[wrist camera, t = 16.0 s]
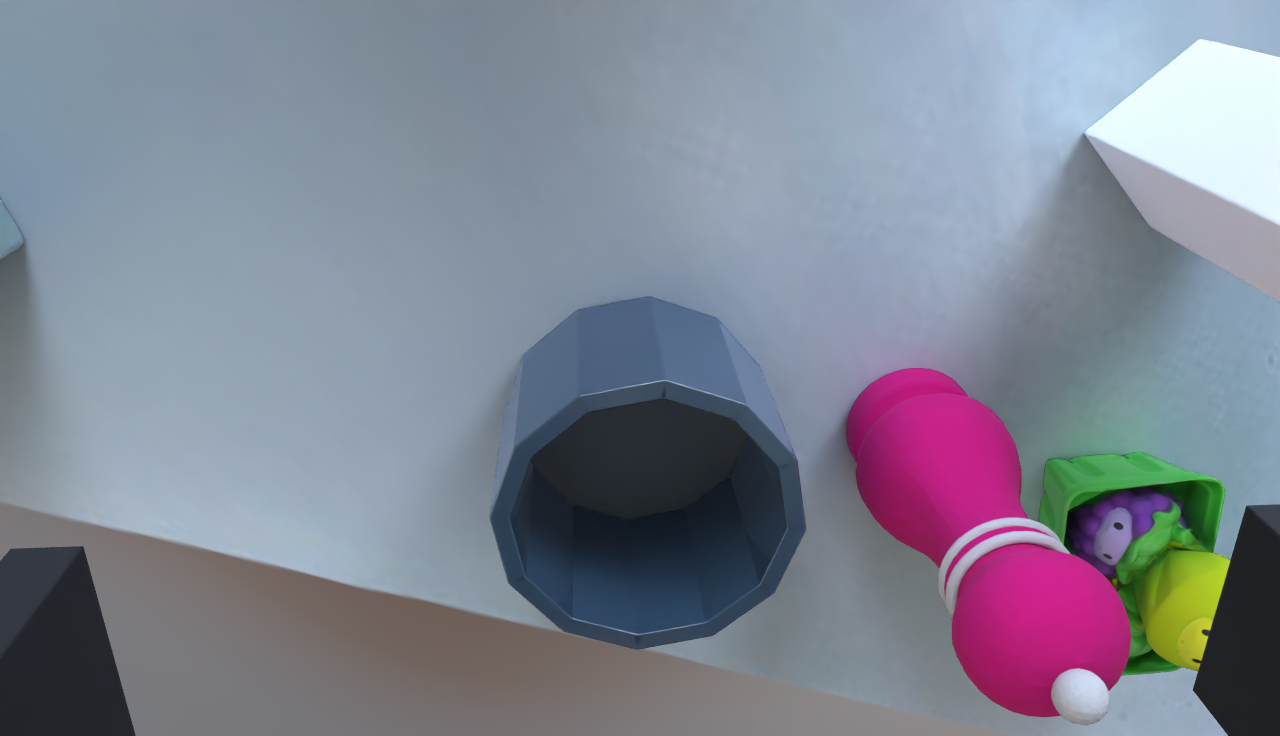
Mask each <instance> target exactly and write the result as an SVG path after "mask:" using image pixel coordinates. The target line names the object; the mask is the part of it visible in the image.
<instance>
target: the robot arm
mask: <svg viewBox="0 0 1280 736" xmlns="http://www.w3.org/2000/svg"><path fill="white" fill-rule="evenodd" d="M1193 691H1194V692H1195V693H1196V695H1197V696H1198V697H1199V699H1200V700H1201V701H1202V702H1203V704H1204V705H1205V706H1206V708H1207V709H1208V710H1209V711H1210V713H1211V714H1212V715H1213V717H1214V718H1215V719H1216V720H1217V722H1218V723H1219V724H1220V726H1221V727H1222V728H1223V729H1224V731H1225V732H1226V733H1227V735H1228V736H1280V505H1253V506H1246V509H1245V513H1244V516H1243V519H1242V523H1241V526H1240V530H1239V533H1238V537H1237V540H1236V543H1235V547H1234V550H1233V554H1232V557H1231V561H1230V564H1229V567H1228V571H1227V574H1226V578H1225V581H1224V585H1223V588H1222V591H1221V595H1220V598H1219V602H1218V605H1217V609H1216V612H1215V616H1214V619H1213V622H1212V626H1211V629H1210V633H1209V636H1208V640H1207V643H1206V646H1205V650H1204V653H1203V657H1202V660H1201V664H1200V667H1199V670H1198V674H1197V677H1196V681H1195V684H1194V688H1193ZM0 736H135V732H134V728H133V725H132V721H131V718H130V714H129V711H128V707H127V703H126V700H125V696H124V692H123V689H122V685H121V681H120V678H119V674H118V671H117V667H116V664H115V660H114V656H113V652H112V649H111V645H110V642H109V638H108V634H107V631H106V627H105V623H104V620H103V617H102V613H101V609H100V605H99V602H98V598H97V594H96V591H95V587H94V584H93V580H92V576H91V573H90V569H89V565H88V562H87V558H86V555H85V551H84V548H83V546H80V547H51V548H24V549H10V551H9V552H8V553H7V554H6V555H5V556H4V557H3V559H2V560H1V561H0Z"/></svg>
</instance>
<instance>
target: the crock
mask: <svg viewBox="0 0 1280 736" xmlns="http://www.w3.org/2000/svg"><path fill="white" fill-rule="evenodd" d="M663 398H664V399H667V400H671V401H674V402H677V403H681V404H684V405H687V406H691V407H694V408H697V409H701V410H704V411H707V412H711V413H714V414H717V415H721V416H724V417H727V418H731V419H734V420H735V422H736V423H737V424H738V425H739V426H740V427H741V428H742V429H743V430H744V431H745V432H746V433H747V435H748V438H747V440H746V442H745V445H744V447H743V449H742V451H741V453H740V456H739V458H738V460H737V462H736V464H735V467H734V469H733V471H732V473H731V475H730V476H729V477H728V478H727V479H725V480H724V481H723V482H721V483H720V484H719V485H717V486H716V487H715V488H713V489H712V490H710V491H709V492H708V493H706V494H705V495H704V496H702V497H701V498H700V499H698V500H697V501H696V502H694V503H693V504H691V505H690V506H689V507H687V508H686V509H684V510H678V511H673V512H667V513H662V514H657V515H651V516H646V517H640V518H635V519H629V520H626V519H623V518H619V517H615V516H612V515H608V514H604V513H601V512H597V511H593V510H590V509H586V508H582V507H579V506H575V505H572V504H571V503H570V502H569V501H568V500H567V499H566V498H565V497H564V496H563V495H562V494H561V493H559V492H558V491H557V490H556V489H555V488H554V487H553V486H552V485H551V484H550V483H549V482H548V481H547V480H546V479H545V478H544V477H543V476H541V475H540V474H539V473H538V472H537V471H536V470H535V469H534V468H533V465H532V461H531V457H532V456H533V455H535V454H536V453H537V452H538V451H540V450H541V449H542V448H543V447H545V446H546V445H547V444H548V443H550V442H551V441H552V440H554V439H555V438H556V437H557V436H559V435H560V434H561V433H562V432H564V431H565V430H566V429H567V428H569V427H570V426H571V425H573V424H574V423H575V422H576V421H578V420H579V419H580V418H581V417H583V416H584V415H585V414H587V413H588V412H593V411H598V410H604V409H609V408H614V407H620V406H625V405H630V404H636V403H641V402H647V401H652V400H657V399H663ZM490 521H491V524H492V528H493V531H494V535H495V538H496V542H497V545H498V549H499V552H500V556H501V559H502V563H503V566H504V570H505V573H506V577H507V580H508V583H509V584H510V585H511V586H512V587H513V588H514V589H515V590H516V591H518V592H519V593H520V594H521V595H522V596H523V597H524V598H526V599H527V600H528V601H529V602H530V603H531V604H532V605H534V606H535V607H536V608H537V609H538V610H539V611H540V612H542V613H543V614H544V615H545V616H546V617H547V618H548V619H550V620H551V621H552V622H553V623H554V624H555V625H556V626H558V627H559V628H560V629H561V630H563V631H564V632H568V633H572V634H576V635H580V636H584V637H588V638H592V639H596V640H600V641H604V642H608V643H612V644H616V645H620V646H624V647H628V648H633V649H637V650H638V649H643V648H649V647H654V646H660V645H665V644H671V643H676V642H682V641H687V640H693V639H698V638H704V637H709V636H713V635H715V634H716V633H717V632H719V631H720V630H722V629H723V628H725V627H726V626H728V625H729V624H730V623H732V622H733V621H735V620H736V619H738V618H739V617H740V616H742V615H743V614H745V613H746V612H748V611H749V610H751V609H752V608H753V607H755V606H756V605H758V604H759V603H761V602H762V601H763V600H765V599H766V598H768V597H769V596H771V595H772V594H773V593H774V592H775V591H776V589H777V587H778V585H779V583H780V581H781V579H782V577H783V575H784V573H785V571H786V569H787V567H788V565H789V563H790V561H791V559H792V557H793V555H794V553H795V551H796V549H797V547H798V545H799V543H800V541H801V539H802V537H803V535H804V533H805V531H806V523H805V516H804V508H803V500H802V492H801V485H800V477H799V469H798V461H797V459H796V456H795V454H794V451H793V448H792V446H791V443H790V441H789V438H788V436H787V433H786V431H785V428H784V426H783V423H782V421H781V418H780V416H779V413H778V411H777V408H776V405H775V403H774V400H773V398H772V395H771V393H770V390H769V388H768V385H767V383H766V380H765V378H764V375H763V373H762V370H761V368H760V366H759V365H758V363H757V362H756V361H755V360H754V359H753V358H752V357H751V356H750V354H749V353H748V352H747V351H746V350H745V349H744V348H743V347H742V345H741V344H740V343H739V342H738V341H737V340H736V339H735V338H734V336H733V335H732V334H731V333H730V332H729V331H728V330H727V328H726V327H725V326H724V325H723V324H722V323H721V322H720V321H719V319H717V318H716V317H713V316H710V315H706V314H703V313H700V312H697V311H694V310H691V309H688V308H684V307H681V306H678V305H675V304H672V303H669V302H666V301H663V300H659V299H656V298H653V297H643V298H638V299H632V300H627V301H622V302H616V303H611V304H606V305H600V306H595V307H590V308H584V309H579V310H577V311H575V312H574V313H573V314H572V315H571V316H569V317H568V318H567V319H566V320H565V321H563V322H562V323H561V324H560V325H558V326H557V327H556V328H555V329H554V330H552V331H551V332H550V333H549V334H547V335H546V336H545V337H544V338H543V339H541V340H540V341H539V342H538V343H537V344H535V345H534V346H533V347H532V348H530V349H529V350H528V351H527V352H526V353H524V355H523V357H522V360H521V363H520V366H519V369H518V371H517V374H516V377H515V380H514V383H513V386H512V389H511V392H510V395H509V398H508V401H507V404H506V406H505V409H504V412H503V417H502V425H501V432H500V440H499V448H498V455H497V463H496V470H495V478H494V485H493V493H492V501H491V508H490Z"/></svg>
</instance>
